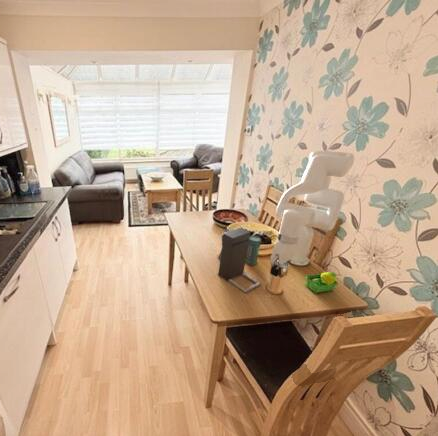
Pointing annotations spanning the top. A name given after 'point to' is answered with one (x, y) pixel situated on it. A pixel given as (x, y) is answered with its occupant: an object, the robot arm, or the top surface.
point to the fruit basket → (321, 282)
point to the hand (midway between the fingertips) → (278, 271)
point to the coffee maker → (235, 256)
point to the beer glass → (278, 279)
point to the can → (253, 250)
